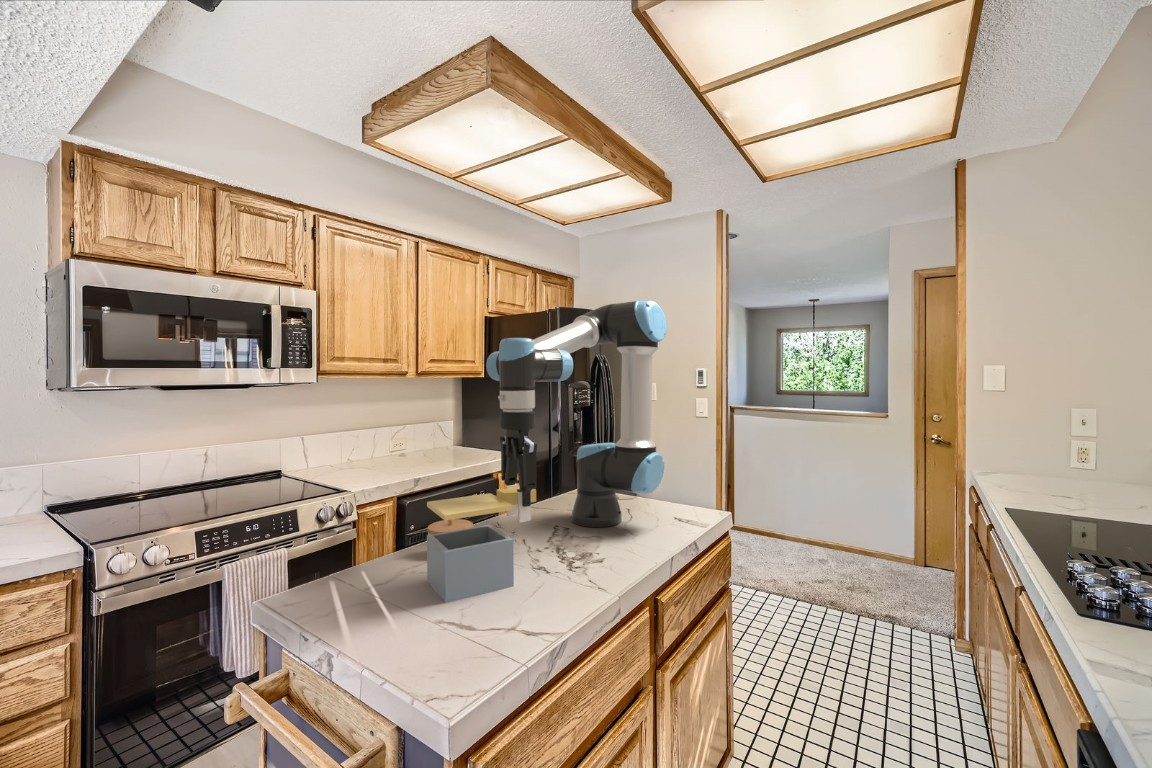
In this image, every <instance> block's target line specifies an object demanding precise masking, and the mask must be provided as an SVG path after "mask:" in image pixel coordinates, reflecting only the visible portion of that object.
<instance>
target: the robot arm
mask: <svg viewBox="0 0 1152 768" xmlns="http://www.w3.org/2000/svg"><path fill="white" fill-rule="evenodd" d="M667 330H668V329H667V319H666V316H665V312H664V311H663V309H662V308H661V306H660V305H659V304H658V303H657V302H655V301H654V300H634V301H627V302H619V303H610V304H605V305H602V306H599V307H598V308H595V309H593V310H590V311H589V312H586V313H584V314H582V315H579V316H577V317H576V318H575V319H574V320H573V322H572V323H569V324H567V325H564V326H562V327H560V328H557V329H555V330H552V331H550V332H548V333H545V334H542V335H541V336H538V337H536V338H534V339H533V338H528V337H509V338H508V337H507V338H502V339H501V340H500V343H499V345H498V346H499V349H498V351H493V352H491V353H490V355H488V357H487V359H486V362H485V363H486V364H485V366H486V372H487V374H488V376H489V377H490V378H491V379H492V380H494V381H497V382H499V395H498V396H497V398H498V401H499V408H500V410H502V411H500V413H499V427H500V429H501V430H504V431H505V430H506V431H505V435H503V436H499V437H500V438H499V442H500V455H501V456H500V460H501V461H500V466H501V467H500V469H501V470H500V471H501V472H500V473H501V474H500V476H501V481H504V485H505V486H506V488H513V487H520V489H517V492H518V504H517V505H513V510H510V511H506V516H507V517H511V516H517V522H518V523H525V522H530V521H532V502H531V490H533V489H535V490H537V487H538V486H537V483H538V482H537V481H538V480H537V450H538V442H537V441H532V440H531V436H530V435H531V434H530V430H532V429H534V428H536V412H535V411H534V409H535V407H536V389H535V387H536V383H537V382H538V383H539V382H541V383H542V382H543V383H545V382H547V383H549V382H555V383H558V382H561V381H566V380H567V379H569V378H570V376H571V375H572V374H573V371H574V360H573V357H572V355H571V354H572V353H574V352H576V351H578V350H580V349H582V348H592V347H595V346H597V345H607V344H609V345H610V344H616V350H617V351H618V352H619V353H620V354H621V384H620V385H621V386H620V387H621V388H620V389H621V390H620V391H621V393H620V395H621V396H620V438H619V440H618V441H617V442H600V443H599V442H598V443H591V444H586V445H585V444H584V445H581V446H580V447H578V449H577V453H576V482H577V483H576V486H577V489H576V491H577V492H576V493H577V494H576V498H575V501H574V504H573V508H572V511H571V522H572V523H574V524H576V525H578V526H581V527H586V528H587V527H588V528H590V527H591V528H606V527H607V528H608V527H613V526H616V525H619V524H621V522H622V520H623V519H622V510H621V507H620V503H619V501H618V498H617V491H625V492H629V493H633V494H635V495H636V494H642V495H647V494H648V495H649V494H651V493H653V492H654V491H656V490H657V489H658V487H659V485H660V484H661V482H662V481H663V480H662V479H663V477H664V473H665V472H664V471H665V460H664V459H663V458H664V457H663V456H662V455H661V454H660V453H659V452H657V445H656V444H655V442H653V440H652V389H653V388H652V387H653V386H652V385H653V355H654V353H655V352H656V351H658V349H659V343H660V342H662V341H663V340H664V339H665V337H666V336H665V335H666V334H667ZM616 490H617V491H616Z"/></svg>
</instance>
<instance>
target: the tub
mask: <svg viewBox="0 0 1152 768" xmlns="http://www.w3.org/2000/svg"><path fill="white" fill-rule="evenodd" d="M514 569H515V568H514V539H513V538H512V537H511V536H509V535H508V534H506V533H505V532H503V531H501V530H500V529H499V528H496V527H495V526H493V525H491V524H486V525H479V526H473V528H467V529H461V530H455V531H450V532H444V533H438V534H432V535H428V534H427V535H426V574H427V575H426V578H427V579H426V581H427V582H428V584H429V586H431V587H432V588H433V590H434V591H435V592H436V594H437V595H439V597H440V598H441V599H442V601H443V602H444V603H445V604H448V603H452V602H456V601H460V600H464V599H468V598H469V599H470V598H472V597H476V596H480V595H485V594H488V593H492V592H496V591H500V590H504V589H507V588H513V587H514V584H515V581H514V578H515V576H514V574H515V573H514V572H515V571H514Z"/></svg>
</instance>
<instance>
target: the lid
mask: <svg viewBox="0 0 1152 768" xmlns="http://www.w3.org/2000/svg"><path fill="white" fill-rule="evenodd" d="M517 489H520V486H519V487H513V488H498V489H496V495H494V494H493V493H482V494H481V493H480V494H475V495H468V496H461V497H454V498H453V497H452V498H446V499H438V500H431V501H426V507H427V508H428V509H429V510H430V511H432V512H433V513H435V514H436V515H437V516H439V518H441V519H442V520H445V521H446V520H452V519H463V518H470V517H476V516H477V517H478V516H483V515H489V514H495V513H503V512H507V511H510V510H513V505H517V504H518V492H517ZM536 502H537V489H533V490H531V503H536Z"/></svg>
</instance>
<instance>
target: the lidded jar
mask: <svg viewBox="0 0 1152 768" xmlns="http://www.w3.org/2000/svg"><path fill="white" fill-rule="evenodd" d="M473 527H474V523H473V522H472V521H471V520H467V519H463V518H459V519H452V520H446V521H445V520H444V519H442V520H439V521H435V522H433V523H431V524H429V525H428V527H427V535H432V534H438V533H444V532H450V531H455V530H461V529H467V528H473Z"/></svg>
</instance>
